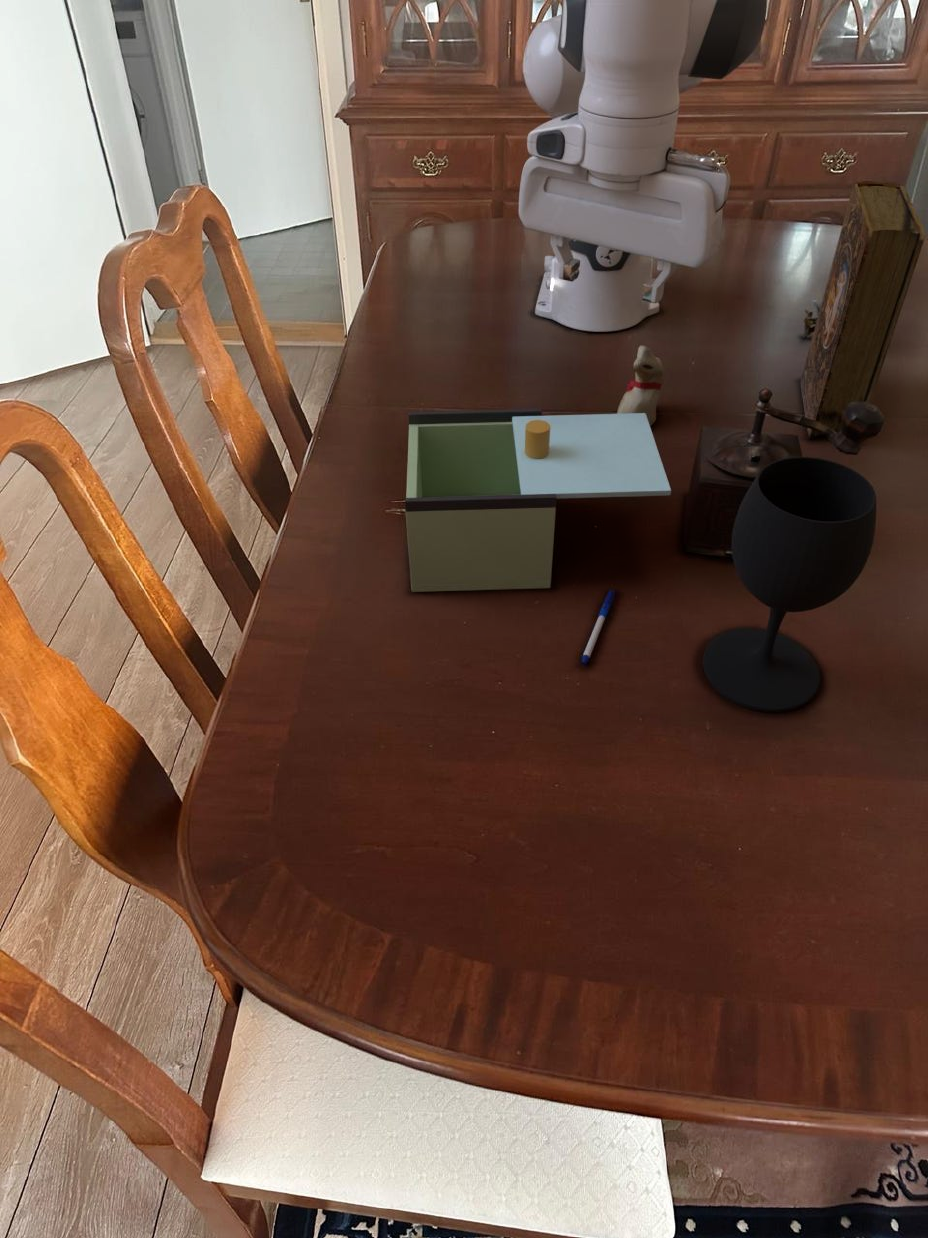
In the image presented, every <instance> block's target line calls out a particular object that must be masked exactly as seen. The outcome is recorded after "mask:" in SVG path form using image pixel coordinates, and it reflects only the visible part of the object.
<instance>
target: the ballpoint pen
mask: <svg viewBox="0 0 928 1238" xmlns="http://www.w3.org/2000/svg"><path fill="white" fill-rule="evenodd" d="M614 597H615V591H614V589H610V590H609V591H608V593H607V595H606V596H605V599H604V601H603V604H602V606H601V607H600V608H601V609H600V611H599V613H598V615H597V616H598V618H597V620H596V621H595V624H594V627H593V630H592V632H591V635H590V637H589V640H588V642H587V645H586V647H585V650H584V652H583V655H582V657H581V658H582V659H581V665H584V666H585V665H586V664H587V663H588V661H589V660H590V658H591V655H592V652H593V651H594V647H595V645H596V643H597V640H598V637H599V635H600V632H601V630H602V627H603V625H604V622H605V620H606V619H607V616H608V613H609V612H610V609H611V606H612V604H613V601H614Z"/></svg>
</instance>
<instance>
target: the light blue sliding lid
mask: <svg viewBox="0 0 928 1238" xmlns="http://www.w3.org/2000/svg"><path fill="white" fill-rule="evenodd" d="M512 424H513V433H514V441H515V449H516V458H517V466H518V474H519V483H520V491H521V495H530V494H556V500H557V499H586V498H588V499H589V498H592V499H595V498H626V497H660V496H663V497H665V496H671V495H672V488H671V486H670V483H669V480H668V477H667V473H666V471H665V468H664V464H663V461H662V458H661V456H660V452H659V449H658V446H657V443H656V441H655V436H654V434H653V432H652V427H651V426H650V425H649V422H648V419H647V416H646V413H627V414H617V413H597V414H596V413H595V414H594V413H593V414H590V413H589V414H563V415H562V414H560V415H559V414H557V415H553V414H552V415H542V416H516V417H512Z"/></svg>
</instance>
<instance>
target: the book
mask: <svg viewBox="0 0 928 1238" xmlns="http://www.w3.org/2000/svg"><path fill="white" fill-rule="evenodd" d="M925 237H926V232H925V229H924V227H923V225H922V222H921V220H920V218H919V215H918V214H917V212H916V209H915V207H914V205H913V203H912V200H911V199H910V196H909V193H908V192H907V190H906V187H905V185H903V184H901V183H895V182H890V181H880V180H862V181H857V182H854V183H853V184H852V188H851V192H850V195H849V199H848V203H847V207H846V209H845V214H844V217H843V222H842V225H841V229H840V232H839V236H838V241H837V244H836V247H835V252H834V254H833V259H832V263H831V267H830V270H829V274H828V278H827V281H826V284H825V289H824V293H823V296H822V300H821V303H820V306H821V307H820V311H819V315H817V317H818V318H817V317H816V318H817V322H816V324H815V325H816V326H815V325H814V326H815V330H814V332H813V333H812V338H811V342H810V345H809V349H808V352H807V356H806V360H805V363H804V368H803V371H802V375H801V378H800V388H801V394H802V396H801V397H802V402H803V408H804V409H803V410H804V417H806V418H809V419H812V420H815V421H818V422H820V423H823V424H825V425H827V426H828V427H830V428H831V429H833V430H834V431H835V432H837V433H838V432H840V431H841V429H842V411H843V409H844V407H845V406H846V405H848V404H849V403H850V402H853V401H865V402H869V403H872V400H873V396H874V393H875V390H876V387H877V384H878V381H879V378H880V375H881V373H882V370H883V366H884V362H885V359H886V357H887V354H888V350H889V347H890V345H891V342H892V339H893V336H894V332H895V329H896V327H897V323H898V320H899V318H900V315H901V313H902V312H901V311H902V309H903V305H904V303H905V299H906V296H907V293H908V290H909V287H910V284H911V281H912V278H913V276H914V272H915V269H916V266H917V263H918V260H919V257H920V254H921V251H922V248H923V245H924V242H925ZM806 430H807V434H808V438H809V439H813V438H816V437H821V436H824V435H822V434H821V433H819V432H817V431H815V430H812V429H810V428H807V427H806ZM824 437H825V436H824Z"/></svg>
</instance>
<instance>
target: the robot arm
mask: <svg viewBox="0 0 928 1238" xmlns="http://www.w3.org/2000/svg"><path fill="white" fill-rule="evenodd" d="M767 7H768V0H561V14H557V15H556V16H553V17H551V18H548V19H546V20H544V21H541V22H539V23H538V24H537V25H536V26H535V27H534V28H533V30H532V32H531V33H530V35H529V38H528V40H527V42H526V44H525V49H524V52H523V59H522V71H523V79H524V83H525V86H526V90H527V92H528V93H529V95H530V98H531V99H532V100H533V102H535V104H536V106H538V107H539V108H540V109H541V110H542V111H544V112H545V113H546V114H547V115H548V116H549V117H550V118H551V120H548V121H546V122H544V123H542V124H541V125H539V126H537V127H535V128H534V129H532V130H531V131H530V132H529V133H528V134H527V140H526V147H527V152H528V154H529V155H530V157H529V158H528V159H527V160H526V161H525V163H524V166H523V168H522V172H521V176H520V185H519V193H518V195H519V196H518V217H519V219H520V221H521V223H522V226H523V227H524V228H525V229H527V230H531V231H535V232H539V233H544V234H548V235H550V247H551V250H552V252H553V253H554V255H545V256H544V267H543V268H544V269H543V271H544V274H543V277H542V281H541V285H540V289H539V293H538V296H537V300H536V303H535V307H534V308H535V309H534V314H535V315H536V316H538V317H542V318H545V319H549V320H553V321H555V322H557V323H559V325H560V324H561V325H563V326H564V327H568V328H571V329H574V330H578V331H585V332H595V333H602V332H603V333H608V332H616V331H621V330H626V329H629V328H631V327H634V326H636V325H638V324H640V323H641V322H642V321H643V320H644V319H645V318H647V317H650V316H652V315H655V314H657V313H659V312H660V303H659V302H660V301H661V300H662V299H663V296H664V290H665V284H666V283H665V282H667V281H668V280H669V279H670V277H671V276H672V274H673V273H674V272H675V271H676V270H677V268H678V267H679V266H683V267H687V268H692V269H698V268H699V269H700V268H701V267H702V266H704V265H705V264H707V263H708V262H709V261H710V260H711V259H712V258H714V256H715V255H716V254H717V253H718V251H719V249H720V245H721V238H722V228H723V213H724V211H723V209H724V206H725V205H726V203H727V201H728V200H727V199H728V196H729V191H730V185H731V175H730V173H729V171H728V169H727V168H726V166H724V165H723V164H722V163H720V162H719V158H718V157H716V156H713V155H709V154H703V155H701V154H696V153H693V152H690V151H687V150H681V149H678V148H677V149H676V148H674V147H675V139H676V133H677V125H678V118H679V111H680V110H679V109H680V105H681V104H680V102H681V97H680V95H681V94H684V93H686V92H688V91H690V90H692V89H694V88H696V87H698V86H699V85H700V84H701V83H702V82H703V80H704V79H710V80H723V79H724V78H726V77H727V76H729V75H730V74H732V72H734V71H735V70H737V69H738V68H739V67H740V66H741V65H742V64H743V63H744V62H745V61H746V60H747V59H748V58H749V57H750V56H751V55H752V53H754V51H755V50H756V49H757V47H758V46H759V44H760V42H761V40H762V36H763V34H764V29H765V25H766V18H767V10H768V9H767ZM654 260H657V263H656V270H657V271H661V272H660V273H659V275H658V276H657V277H656V278H654V277H653V268H654Z"/></svg>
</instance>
